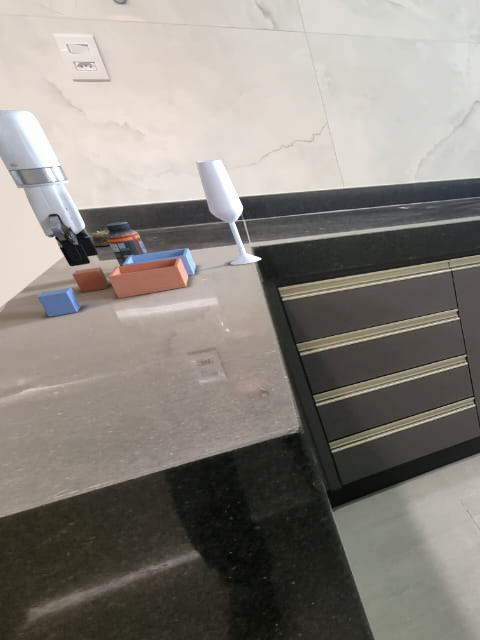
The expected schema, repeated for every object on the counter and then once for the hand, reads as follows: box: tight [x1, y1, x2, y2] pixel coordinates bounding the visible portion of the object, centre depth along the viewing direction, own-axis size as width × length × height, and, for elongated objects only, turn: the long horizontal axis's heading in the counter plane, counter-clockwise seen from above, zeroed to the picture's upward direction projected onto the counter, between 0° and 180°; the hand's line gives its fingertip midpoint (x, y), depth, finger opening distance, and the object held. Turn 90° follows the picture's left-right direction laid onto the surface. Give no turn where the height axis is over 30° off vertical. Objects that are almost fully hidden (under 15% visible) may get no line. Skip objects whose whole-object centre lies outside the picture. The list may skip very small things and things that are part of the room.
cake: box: [91, 226, 110, 247], centre depth 161 cm, size 10×10×5 cm
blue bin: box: [123, 247, 196, 277], centre depth 124 cm, size 11×10×5 cm
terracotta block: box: [72, 267, 110, 293], centre depth 116 cm, size 4×4×4 cm
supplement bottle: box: [105, 221, 149, 266], centre depth 128 cm, size 6×6×11 cm
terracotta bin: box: [107, 258, 189, 299], centre depth 115 cm, size 11×10×5 cm
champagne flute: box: [195, 159, 262, 266], centre depth 129 cm, size 7×7×24 cm
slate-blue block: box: [37, 287, 82, 318], centre depth 101 cm, size 4×4×4 cm
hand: (85, 260), depth 114 cm, fingers open, 9 cm apart
